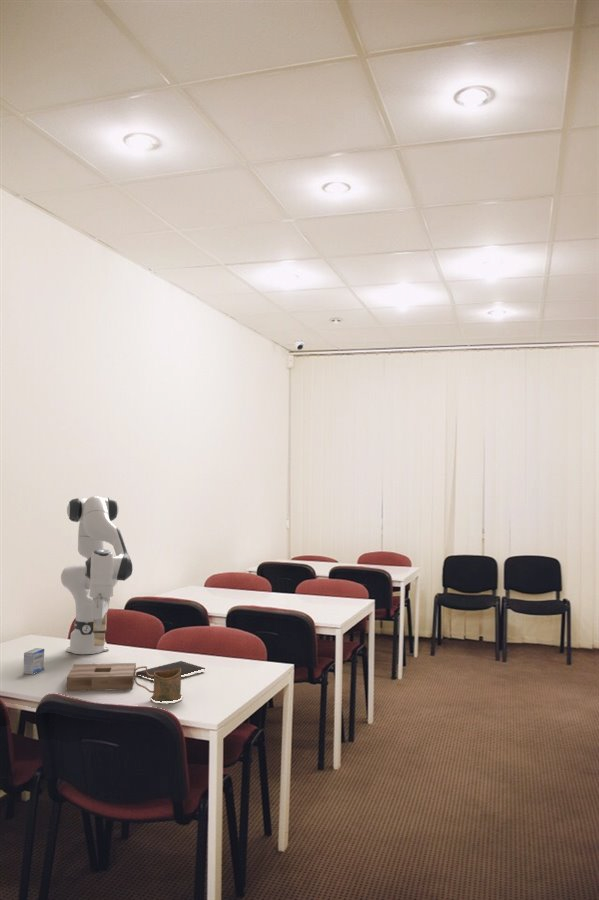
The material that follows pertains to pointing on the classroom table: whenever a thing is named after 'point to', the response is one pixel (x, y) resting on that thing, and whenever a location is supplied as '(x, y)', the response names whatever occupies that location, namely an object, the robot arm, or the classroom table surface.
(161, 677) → the mug
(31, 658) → the medicine box
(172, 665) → the hardcover book
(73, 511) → the robot arm
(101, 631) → the peg
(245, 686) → the classroom table surface
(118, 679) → the board
